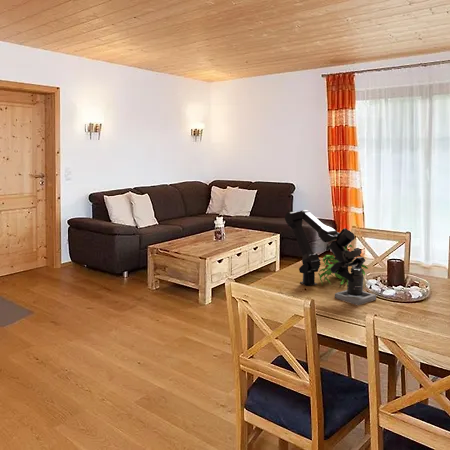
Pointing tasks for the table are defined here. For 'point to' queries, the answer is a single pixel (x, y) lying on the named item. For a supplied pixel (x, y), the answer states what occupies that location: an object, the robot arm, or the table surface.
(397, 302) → the table surface
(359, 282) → the supplement bottle
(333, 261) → the decorative plant
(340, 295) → the tray
